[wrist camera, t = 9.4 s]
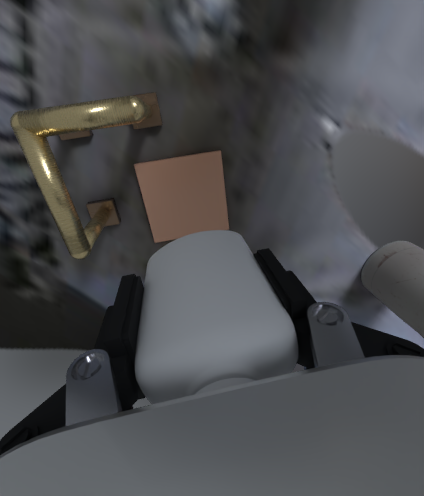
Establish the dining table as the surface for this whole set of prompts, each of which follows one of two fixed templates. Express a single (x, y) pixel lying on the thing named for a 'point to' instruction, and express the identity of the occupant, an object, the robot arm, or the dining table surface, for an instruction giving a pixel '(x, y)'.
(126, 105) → the bent handrail
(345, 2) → the dining table surface
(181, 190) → the terracotta tile
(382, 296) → the thermos bottle
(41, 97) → the dining table surface
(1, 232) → the dining table surface
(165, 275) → the eye dropper bottle
